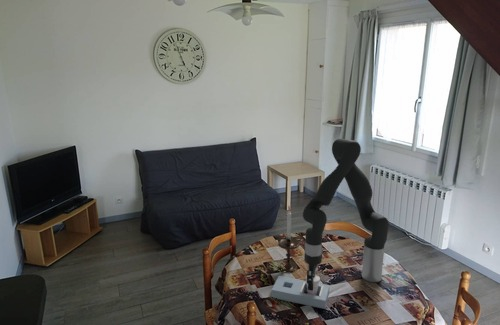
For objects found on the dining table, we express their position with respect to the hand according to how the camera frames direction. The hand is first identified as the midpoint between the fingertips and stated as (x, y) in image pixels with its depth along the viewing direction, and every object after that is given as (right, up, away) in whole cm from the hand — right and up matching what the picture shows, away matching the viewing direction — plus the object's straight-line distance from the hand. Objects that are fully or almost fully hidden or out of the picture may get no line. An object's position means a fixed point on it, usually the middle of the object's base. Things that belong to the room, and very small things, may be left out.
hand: (312, 284), depth 153 cm
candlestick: (-8, -1, +26) cm, 27 cm away
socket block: (-5, -6, +3) cm, 8 cm away
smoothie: (0, -6, +2) cm, 7 cm away
